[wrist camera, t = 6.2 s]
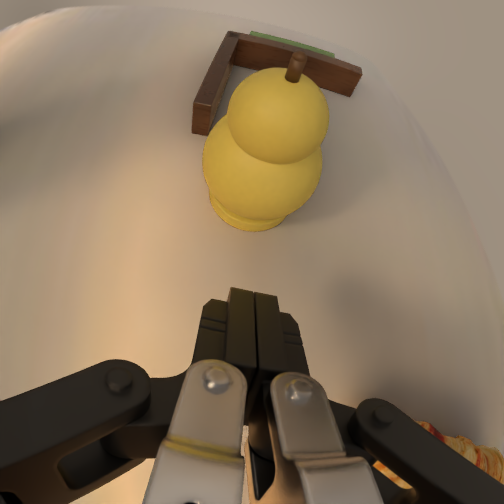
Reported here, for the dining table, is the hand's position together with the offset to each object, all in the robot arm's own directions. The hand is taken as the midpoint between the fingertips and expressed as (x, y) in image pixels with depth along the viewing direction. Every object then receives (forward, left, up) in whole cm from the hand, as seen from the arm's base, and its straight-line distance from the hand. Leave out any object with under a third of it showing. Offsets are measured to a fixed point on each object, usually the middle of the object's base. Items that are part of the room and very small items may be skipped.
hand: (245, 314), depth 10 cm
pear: (0, +9, -7) cm, 11 cm away
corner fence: (+1, +18, -7) cm, 19 cm away
